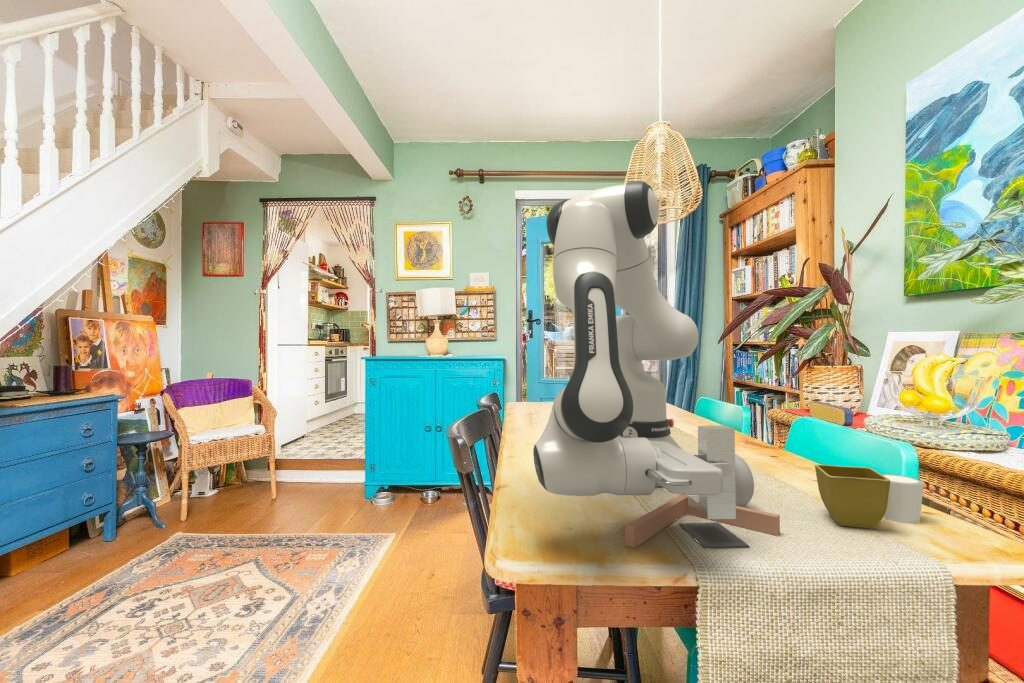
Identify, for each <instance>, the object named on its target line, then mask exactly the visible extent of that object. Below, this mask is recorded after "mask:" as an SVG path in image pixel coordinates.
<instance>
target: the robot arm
mask: <svg viewBox="0 0 1024 683" xmlns="http://www.w3.org/2000/svg"><path fill="white" fill-rule="evenodd" d="M659 214H660V206H659V200H658V198H657V195H656V193H655V191H654V190H653V187H652V186H651V185H649V183H647V182H645V181H636V180H635V181H627V183H625V184H617V185H610V186H606V187H605V186H604V187H602V188H597V189H594V190H593V191H590V192H587V193H584V194H581V195H578V196H575V197H573V198H571V199H563V200H561V201H559V202H557V203H556V204H554V205H552V207H551V208H550V210H549V212H548V214H547V215H546V216H547V217H546V232H547V235H548V239H549V241H550V243H551V244H552V246H553V258H552V259H553V260H552V275H553V276H552V277H553V285H554V286H553V287H554V290H555V291H554V292H555V295H556V298H557V299H558V301H559V302H560V303H561V304H562V305H563V306H564V307H566V308H568V309H569V310H571V313H572V317H573V318H572V319H573V339H574V340H573V348H574V352H573V353H574V366H573V370H572V374H571V376H570V379H569V380H568V382H567V383H566V385H565V386H564V387H563V388H561V390H560V391H559V392H558V393H557V395H556V396H555V398H554V400H553V404H552V407H551V411H550V415H549V418H548V419H547V420H548V421H547V423H546V425H545V428H544V430H543V431H542V433H541V435H540V437H539V439H538V440H537V441H536V442H535V444H534V446H533V452H532V453H533V463H534V467H535V472H536V476H537V479H538V482H539V483H540V485H541V486H542V487H543V489H544V490H545V491H547V492H548V493H550V494H554V495H561V496H571V497H572V496H573V497H593V496H598V495H600V494H611V495H615V496H651V495H652V494H653V493H654V492H655V488H656V487H659V488H660V487H661V488H663V489H664V490H666V491H667V492H669V493H672V494H677V495H681V494H684V495H689V496H699V495H719V494H721V493H722V492H723V476H726V475H731V465H730V464H728V463H726V462H716V463H708V462H706V461H704V460H702V459H700V458H698V453H697V454H696V453H691V452H688V451H685V450H684V449H683V448H682V447H681V446H680V444H678V443H677V441H676V440H675V439H674V438H673V437H672V436H671V434H672V431H671V428H674V426H675V420H674V419H673V418H667V391H666V388H665V385H664V384H663V383H662V382H661V381H660V380H659V379H658V378H657V377H654V376H653V375H651V374H648V373H647V371H646V370H645V368H644V366H643V361H673V360H679V359H683V358H689V357H690V356H691V355H692V354H693V353H694V351H695V350H696V348H697V346H698V344H699V343H698V342H699V330H698V326H697V325H696V322H695V321H694V320H693V319H692V318H691V317H690V316H689V315H687V314H685V313H683V312H682V311H679V310H678V309H677V308H675V307H674V306H673V305H672V304H670V303H669V301H667V299H666V298H665V297H664V295H663V294H662V293H661V291H660V289H659V287H658V285H657V282H656V279H655V276H654V273H653V268H652V265H651V260H650V256H649V250H648V247H647V244H646V240H645V237H646V236H648V235H650V234H651V233H652V232H653V231H654V229H656V227H657V225H658V219H659ZM616 307H617V308H619V309H622V310H623V311H625V312H627V314H625V315H617V313H616V309H617V308H616Z"/></svg>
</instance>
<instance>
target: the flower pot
mask: <svg viewBox="0 0 1024 683" xmlns="http://www.w3.org/2000/svg"><path fill="white" fill-rule="evenodd" d="M814 467H815V474H816V480H817V481H816V482H817V487H818V488H817V489H818V492H819V495H820V498H821V501H822V503H823V505H824V507H825V509H826V510H827V512H828V514H829V516H830V517H831V518H832V519H833V520H834V521H835V522H836V523H837V524H838V525H840V526H843V527H856V528H866V529H875V528H876V527H878V525H879V524H880V523H881V521H882V520H883V518H884V515H885V512H886V509H887V504H888V496H889V488H890V480H889V479H888V478H886V477H885V476H883V475H881V473H879V472H878V471H876V470H875V469H873V468H870V467H865V466H848V465H847V466H844V465H843V466H841V465H830V464H814Z"/></svg>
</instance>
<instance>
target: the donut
mask: <svg viewBox="0 0 1024 683" xmlns="http://www.w3.org/2000/svg"><path fill="white" fill-rule="evenodd" d="M754 491H755V482H754V477H753V473H752V470H751V468H750V465H748V462H746V460H745V459H744V458H742V457H741V456H740V455H739V454H736V453H735V494H736V506H740V507H745V506H747V505H748V504H750V502H751V501H752V499H753V496H754V493H755V492H754Z"/></svg>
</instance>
